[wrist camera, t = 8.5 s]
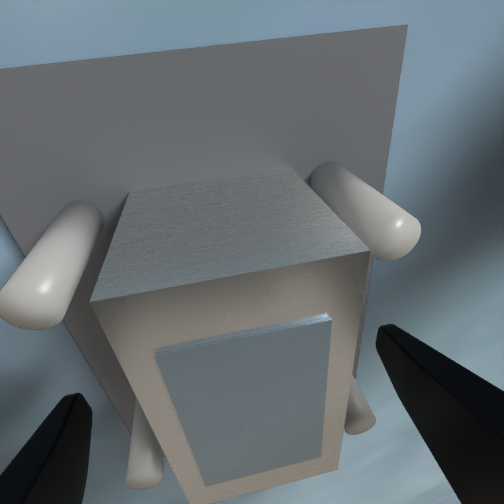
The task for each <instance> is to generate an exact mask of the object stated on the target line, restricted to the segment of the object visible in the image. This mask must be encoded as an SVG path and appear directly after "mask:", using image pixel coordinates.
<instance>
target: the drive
mask: <svg viewBox="0 0 504 504" xmlns="http://www.w3.org/2000/svg"><path fill="white" fill-rule="evenodd" d="M370 251H371V250H370V249H369V248H368V247H367V246H366V245H365V244H364V243H363V242H362V241H361V240H360V239H359V238H358V237H357V236H356V235H355V234H354V233H353V231H352V230H351V229H350V228H349V227H348V226H347V225H346V224H345V223H344V222H343V221H342V220H341V219H340V218H339V217H338V216H337V215H336V214H335V213H334V212H333V211H332V210H331V209H330V208H329V206H328V205H327V204H326V203H325V202H324V201H323V200H322V199H321V198H320V197H319V196H318V195H317V194H316V193H315V192H314V191H313V190H312V189H311V188H310V187H309V186H308V185H307V184H306V182H305V181H304V180H303V179H302V178H301V177H300V176H299V175H298V174H297V173H296V172H295V171H294V170H293V169H292V168H285V169H279V170H272V171H265V172H258V173H251V174H245V175H238V176H231V177H224V178H217V179H211V180H204V181H197V182H190V183H183V184H177V185H170V186H163V187H156V188H149V189H143V190H136V191H130V192H129V195H128V197H127V200H126V203H125V206H124V208H123V211H122V214H121V217H120V219H119V222H118V225H117V228H116V230H115V233H114V236H113V239H112V241H111V244H110V247H109V250H108V252H107V255H106V258H105V261H104V263H103V266H102V269H101V272H100V274H99V277H98V280H97V283H96V285H95V288H94V291H93V293H92V296H91V299H90V304H91V306H92V308H93V310H94V312H95V314H96V316H97V319H98V321H99V323H100V325H101V327H102V329H103V331H104V333H105V335H106V337H107V339H108V341H109V343H110V345H111V347H112V349H113V351H114V353H115V355H116V357H117V359H118V361H119V363H120V365H121V367H122V369H123V371H124V373H125V375H126V377H127V379H128V381H129V383H130V385H131V387H132V389H133V391H134V393H135V395H136V397H137V399H138V401H139V403H140V405H141V407H142V409H143V411H144V413H145V415H146V417H147V419H148V421H149V423H150V425H151V428H152V430H153V432H154V434H155V436H156V438H157V440H158V442H159V444H160V446H161V448H162V450H163V452H164V454H165V456H166V458H167V460H168V462H169V464H170V466H171V468H172V470H173V472H174V474H175V476H176V478H177V480H178V482H179V484H180V486H181V488H182V490H183V492H184V494H185V496H186V498H187V500H188V502H189V504H210V503H214V502H218V501H221V500H225V499H229V498H233V497H237V496H240V495H244V494H248V493H252V492H255V491H259V490H263V489H267V488H270V487H274V486H278V485H282V484H286V483H289V482H293V481H297V480H301V479H304V478H308V477H312V476H316V475H319V474H323V473H327V472H331V471H335V470H338V464H339V458H340V451H341V444H342V438H343V431H344V424H345V418H346V411H347V404H348V398H349V391H350V384H351V378H352V371H353V364H354V358H355V351H356V344H357V338H358V331H359V325H360V318H361V311H362V305H363V298H364V291H365V285H366V278H367V271H368V265H369V258H370Z"/></svg>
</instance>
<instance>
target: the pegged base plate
mask: <svg viewBox="0 0 504 504" xmlns="http://www.w3.org/2000/svg"><path fill="white" fill-rule="evenodd" d="M407 27H408V25H400V26H390V27H381V28H372V29H363V30H354V31H345V32H335V33H326V34H317V35H308V36H299V37H290V38H280V39H271V40H262V41H253V42H244V43H235V44H225V45H216V46H207V47H198V48H189V49H180V50H170V51H161V52H152V53H143V54H134V55H125V56H115V57H106V58H97V59H88V60H79V61H70V62H60V63H51V64H42V65H33V66H24V67H15V68H5V69H0V215H1V217H2V219H3V220H4V222H5V224H6V226H7V227H8V229H9V231H10V232H11V234H12V236H13V237H14V239H15V241H16V242H17V244H18V246H19V247H20V249H21V251H22V252H23V254H24V256H25V257H26V258H25V259H24V261H23V262H22V263H21V265H20V266H19V267H18V269H17V270H16V271H15V273H14V274H13V275H12V277H11V278H10V279H9V281H8V282H7V283H6V285H5V286H4V287H3V289H2V290H1V291H0V316H1V317H2V318H3V319H4V320H5V321H7V322H8V323H10V324H12V325H14V326H17V327H19V328H23V329H29V330H43V329H48V328H51V327H53V326H55V325H57V324H58V323H59V322H61V320H62V319H63V321H64V323H65V324H66V326H67V328H68V329H69V331H70V333H71V334H72V336H73V338H74V339H75V341H76V343H77V344H78V346H79V348H80V350H81V351H82V353H83V355H84V356H85V358H86V360H87V361H88V363H89V365H90V366H91V368H92V370H93V371H94V373H95V375H96V376H97V378H98V380H99V381H100V383H101V385H102V386H103V388H104V390H105V391H106V393H107V395H108V396H109V398H110V400H111V401H112V403H113V405H114V406H115V408H116V410H117V412H118V413H119V415H120V417H121V418H122V420H123V422H124V423H125V425H126V427H127V428H128V430H129V432H130V433H131V443H130V451H129V459H128V467H127V475H126V485H127V486H128V487H129V488H132V489H147V488H151V487H154V486H156V485H158V484H159V483H160V482H161V481H162V479H163V460H164V452H163V450H162V448H161V446H160V444H159V442H158V440H157V438H156V436H155V434H154V432H153V430H152V428H151V425H150V423H149V421H148V419H147V417H146V415H145V413H144V411H143V409H142V407H141V405H140V403H139V401H138V399H137V397H136V395H135V393H134V391H133V389H132V387H131V385H130V383H129V381H128V379H127V377H126V375H125V373H124V371H123V369H122V367H121V365H120V363H119V361H118V359H117V357H116V355H115V353H114V351H113V349H112V347H111V345H110V343H109V341H108V339H107V337H106V335H105V333H104V331H103V329H102V327H101V325H100V323H99V321H98V319H97V316H96V314H95V312H94V310H93V308H92V306H91V304H90V299H91V296H92V293H93V291H94V288H95V285H96V283H97V280H98V277H99V274H100V272H101V269H102V266H103V263H104V261H105V258H106V255H107V252H108V250H109V247H110V244H111V241H112V239H113V236H114V233H115V230H116V228H117V225H118V222H119V219H120V217H121V214H122V211H123V208H124V206H125V203H126V200H127V197H128V195H129V192H130V191H136V190H143V189H149V188H156V187H163V186H170V185H177V184H183V183H190V182H197V181H204V180H211V179H217V178H224V177H231V176H238V175H245V174H251V173H258V172H265V171H272V170H279V169H285V168H292V169H293V170H294V171H295V172H296V173H297V174H298V175H299V176H300V177H301V178H302V179H303V180H304V181H305V182H306V184H307V185H308V186H309V187H310V188H311V189H312V190H313V191H314V192H315V193H316V194H317V195H318V196H319V197H320V198H321V199H322V200H323V201H324V202H325V203H326V204H327V205H328V206H329V208H330V209H331V210H332V211H333V212H334V213H335V214H336V215H337V216H338V217H339V218H340V219H341V220H342V221H343V222H344V223H345V224H346V225H347V226H348V227H349V228H350V229H351V230H352V231H353V233H354V234H355V235H356V236H357V237H358V238H359V239H360V240H361V241H362V242H363V243H364V244H365V245H366V246H367V247H368V248H369V249H370V250H371V251H370V258H369V265H368V271H367V278H366V285H365V291H364V298H363V305H362V311H361V318H360V325H359V331H358V338H357V344H356V351H355V358H354V364H353V371H352V378H351V384H350V391H349V398H348V404H347V411H346V418H345V424H344V429H345V432H346V433H347V434H350V435H355V434H360V433H363V432H365V431H367V430H369V429H370V428H372V427H373V426H374V424H375V423H376V418H375V416H374V415H373V413H372V411H371V409H370V407H369V405H368V403H367V401H366V400H365V398H364V396H363V394H362V392H361V390H360V388H359V386H358V385H357V383H356V381H355V377H356V370H357V363H358V357H359V350H360V343H361V336H362V330H363V323H364V316H365V309H366V303H367V296H368V289H369V283H370V276H371V269H372V262H373V256H374V257H375V258H377V259H378V260H381V261H393V260H397V259H399V258H401V257H403V256H405V255H406V254H407V253H409V252H410V251H411V250H412V249H413V248H414V246H415V245H416V244H417V242H418V240H419V238H420V235H421V225H420V223H419V221H418V220H417V219H416V218H415V217H413V216H412V215H411V214H409V213H408V212H406V211H405V210H403V209H402V208H401V207H399V206H398V205H396V204H395V203H394V202H392V201H391V200H389V199H388V198H386V197H385V196H384V195H383V188H384V182H385V175H386V168H387V161H388V155H389V148H390V141H391V134H392V128H393V121H394V114H395V108H396V101H397V94H398V87H399V81H400V74H401V67H402V60H403V54H404V47H405V40H406V33H407Z"/></svg>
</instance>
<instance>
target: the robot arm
mask: <svg viewBox="0 0 504 504" xmlns="http://www.w3.org/2000/svg"><path fill="white" fill-rule="evenodd" d="M376 349H377V352H378V354H379V356H380V358H381V360H382V363H383V365H384V367H385V369H386V371H387V373H388V376H389V378H390V380H391V382H392V384H393V386H394V389H395V391H396V393H397V395H398V397H399V399H400V400H401V402H402V404H403V406H404V407H405V409H406V411H407V412H408V414H409V416H410V417H411V419H412V421H413V423H414V424H415V426H416V428H417V429H418V431H419V433H420V434H421V436H422V438H423V439H424V441H425V443H426V445H427V446H428V448H429V450H430V451H431V453H432V455H433V456H434V458H435V460H436V461H437V463H438V465H439V467H440V468H441V470H442V472H443V473H444V475H445V477H446V478H447V480H448V482H449V483H450V485H451V487H452V489H453V490H454V492H455V494H456V495H457V497H458V499H459V500H460V502H461V504H504V391H502V390H501V389H499V388H497V387H496V386H494V385H493V384H491V383H489V382H488V381H486V380H484V379H483V378H481V377H479V376H478V375H476V374H474V373H473V372H471V371H470V370H468V369H466V368H465V367H463V366H461V365H460V364H458V363H456V362H455V361H453V360H451V359H450V358H448V357H447V356H445V355H443V354H442V353H440V352H438V351H437V350H435V349H433V348H432V347H430V346H428V345H427V344H425V343H424V342H422V341H420V340H419V339H417V338H415V337H414V336H412V335H410V334H409V333H407V332H405V331H404V330H402V329H401V328H399V327H397V326H396V325H393V324H387V325H383V326H380V327H379V328H378V333H377V338H376ZM91 428H92V409H91V407H90V406H89V404H88V403H87V401H86V400H85V398H84V397H83V395H82V394H80V393H75V394H70V395H66V396H64V397H63V398H62V399H61V400H60V401H59V403H58V404H57V405H56V406H55V408H54V409H53V410H52V411H51V413H50V414H49V415H48V416H47V418H46V419H45V420H44V421H43V423H42V424H41V425H40V426H39V428H38V429H37V430H36V431H35V433H34V434H33V435H32V436H31V438H30V439H29V440H28V441H27V443H26V444H25V445H24V446H23V448H22V449H21V450H20V451H19V453H18V454H17V455H16V456H15V458H14V459H13V460H12V461H11V463H10V464H9V465H8V466H7V468H6V469H5V470H4V471H3V473H2V474H1V475H0V504H82V501H83V496H84V490H85V485H86V479H87V473H88V463H89V452H90V440H91Z"/></svg>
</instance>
